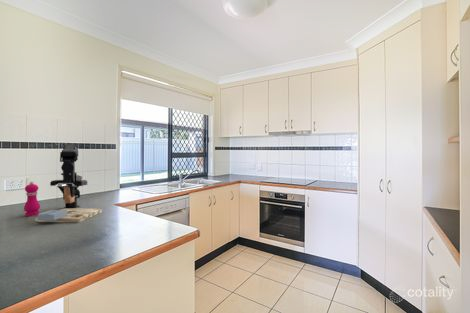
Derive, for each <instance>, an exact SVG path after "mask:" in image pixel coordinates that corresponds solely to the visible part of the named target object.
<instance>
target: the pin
mask: <svg viewBox="0 0 470 313" xmlns="http://www.w3.org/2000/svg"><path fill="white" fill-rule="evenodd" d="M63 201H64V202H63V203H64V204H65V203H72V202H75V199H74V197H71V193H70V187H65V188H64V200H63Z"/></svg>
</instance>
